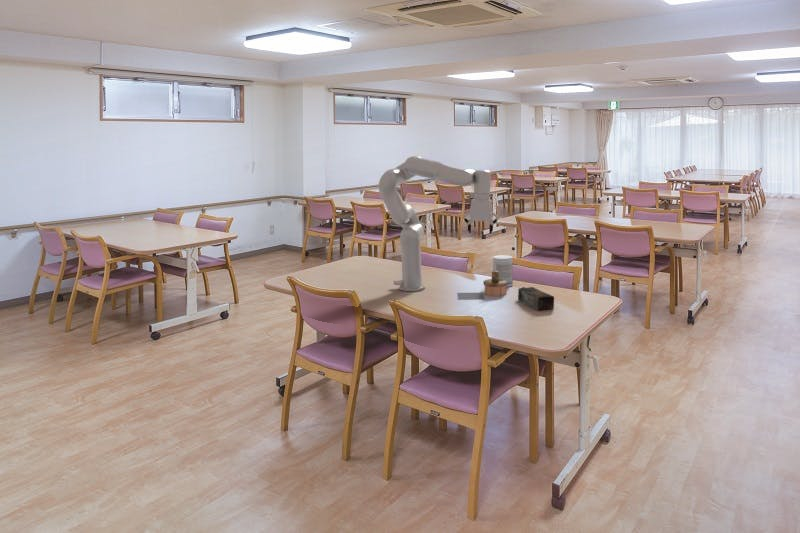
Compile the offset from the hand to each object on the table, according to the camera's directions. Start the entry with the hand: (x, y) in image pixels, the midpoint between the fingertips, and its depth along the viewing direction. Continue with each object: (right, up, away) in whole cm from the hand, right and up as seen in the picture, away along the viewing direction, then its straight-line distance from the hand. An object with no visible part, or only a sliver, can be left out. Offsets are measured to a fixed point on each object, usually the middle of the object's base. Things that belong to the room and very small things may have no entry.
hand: (480, 232), depth 286 cm
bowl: (+7, -29, 0) cm, 30 cm away
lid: (+7, -24, -1) cm, 25 cm away
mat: (-5, -30, -4) cm, 31 cm away
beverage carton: (+22, -33, -19) cm, 44 cm away
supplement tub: (+13, -26, +15) cm, 33 cm away
